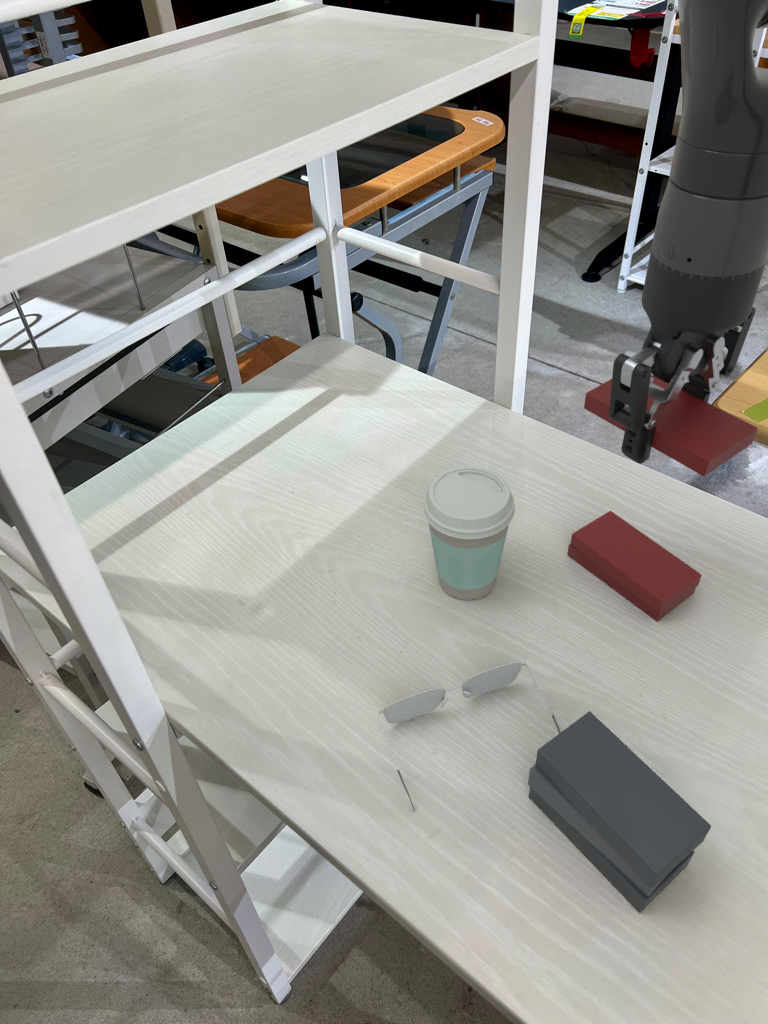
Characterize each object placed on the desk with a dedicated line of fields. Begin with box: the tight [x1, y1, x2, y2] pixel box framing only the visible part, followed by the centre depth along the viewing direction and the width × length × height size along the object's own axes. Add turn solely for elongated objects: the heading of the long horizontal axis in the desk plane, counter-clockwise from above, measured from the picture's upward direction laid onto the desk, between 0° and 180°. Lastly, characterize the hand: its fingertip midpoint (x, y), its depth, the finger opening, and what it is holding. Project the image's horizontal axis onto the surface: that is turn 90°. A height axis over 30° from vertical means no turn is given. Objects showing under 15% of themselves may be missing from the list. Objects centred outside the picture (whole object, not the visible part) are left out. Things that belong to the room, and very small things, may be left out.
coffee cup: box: [422, 465, 516, 601], centre depth 72 cm, size 8×8×12 cm
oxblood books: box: [567, 510, 703, 622], centre depth 75 cm, size 12×6×3 cm, turn 37°
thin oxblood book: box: [583, 374, 759, 477], centre depth 61 cm, size 12×6×2 cm, turn 37°
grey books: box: [527, 711, 712, 914], centre depth 55 cm, size 12×6×7 cm, turn 37°
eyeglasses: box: [376, 661, 561, 812], centre depth 62 cm, size 14×8×4 cm, turn 109°
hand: (661, 440), depth 63 cm, fingers closed on thin oxblood book, 6 cm apart
